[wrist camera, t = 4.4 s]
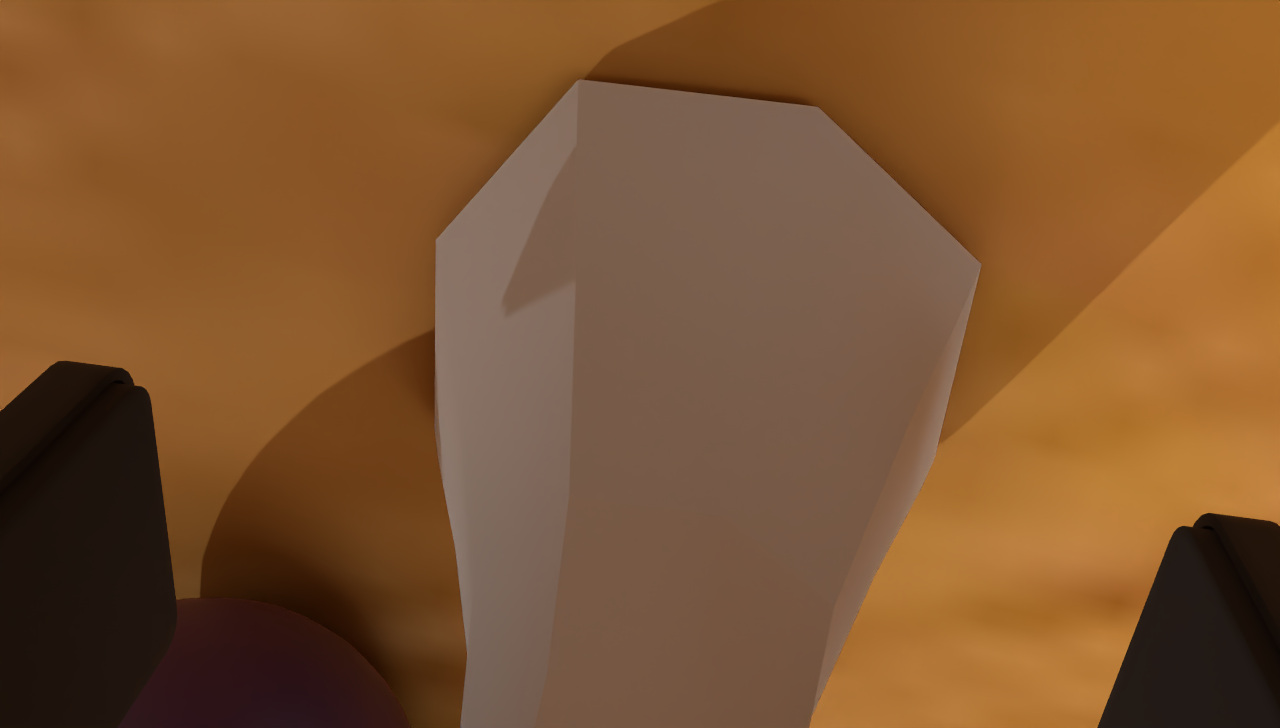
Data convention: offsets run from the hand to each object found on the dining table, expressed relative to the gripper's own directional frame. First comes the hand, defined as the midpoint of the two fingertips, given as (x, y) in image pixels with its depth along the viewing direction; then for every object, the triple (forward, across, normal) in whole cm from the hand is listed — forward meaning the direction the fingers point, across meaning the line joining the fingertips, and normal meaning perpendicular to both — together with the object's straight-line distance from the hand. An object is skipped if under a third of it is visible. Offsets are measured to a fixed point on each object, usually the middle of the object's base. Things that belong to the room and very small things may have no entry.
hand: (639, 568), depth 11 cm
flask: (+6, 0, 0) cm, 6 cm away
